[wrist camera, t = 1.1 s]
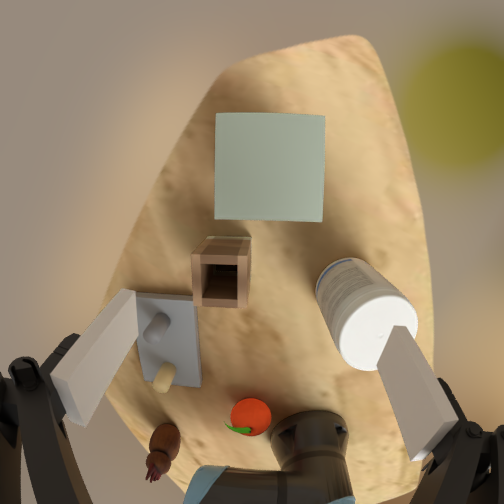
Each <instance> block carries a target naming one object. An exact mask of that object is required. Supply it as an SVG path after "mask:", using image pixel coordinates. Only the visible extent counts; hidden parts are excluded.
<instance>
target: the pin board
mask: <svg viewBox="0 0 504 504" xmlns="http://www.w3.org/2000/svg"><path fill="white" fill-rule="evenodd" d="M135 293H136V309H137V322H138V333H139V335H138V337H137V339H136V341H137V346H138V352H139V357H140V362H141V367H142V372H143V376H144V381H150V382H153V383H152V387H153V389H154V390H155V391H157V392H159V393H166V392H168V390H169V387H170V385H179V386H188V387H197V388H200V387H201V384H202V371H201V359H200V346H199V332H198V317H197V306H193V296H190V295H173V294H158V293H144V292H135Z"/></svg>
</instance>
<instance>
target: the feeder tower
mask: <svg viewBox="0 0 504 504" xmlns="http://www.w3.org/2000/svg"><path fill="white" fill-rule="evenodd" d="M324 168H325V116H320V115H306V114H289V113H216V127H215V219H228V220H273V221H303V222H322V218H323V197H324Z"/></svg>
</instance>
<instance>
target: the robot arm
mask: <svg viewBox="0 0 504 504" xmlns="http://www.w3.org/2000/svg"><path fill="white" fill-rule="evenodd" d="M138 335H139V333H138V322H137V309H136V293H135V291H133V290H128V289H124V288H122V289H121V290H120V291H119V292H118V293H117V294H116V295H115V296H114V297H113V299H112V300H111V301H110V302H109V303H108V304H107V305H106V307H105V308H104V309H103V310H102V311H101V312H100V314H99V315H98V316H97V317H96V318H95V319H94V321H93V322H92V323H91V324H90V325H89V326H88V328H87V329H86V330H85V331H84V333H83V334H82V335H78V334H75V333H73V334H71V335H69V336H68V337H66V338H64V340H63V341H62V342H61V343H60V344H59V346H58V347H57V348H56V349H55V350H54V351H53V353H52V354H51V355H50V356H49V357H48V358H47V359H46V361H45V362H44V363H43V364H42V365H41V367H40V368H39V365H38V363H37V361H36V360H35V359H34V358H31V357H20V358H17V359H15V360H14V361H13V362H12V363H11V364H10V365H9V368H8V372H9V374H10V376H11V379H9V378H3V376H2V374H1V372H0V504H21V484H20V483H21V482H20V481H21V479H20V478H21V477H20V475H21V448H22V444H23V449H24V454H25V459H26V464H27V468H28V472H29V476H30V480H31V484H32V487H33V491H34V494H35V498H36V501H37V504H93V503H92V501H91V498H90V496H89V494H88V491H87V489H86V486H85V484H84V481H83V479H82V476H81V474H80V471H79V468H78V466H77V463H76V460H75V457H74V454H73V451H72V448H71V445H70V442H69V438H68V435H67V432H66V428H65V425H64V422H63V420H62V418H63V417H64V415H65V414H67V416H68V418H69V420H70V421H71V422H73V423H76V424H78V425H81V426H83V427H86V426H87V424H88V422H89V420H90V419H91V417H92V415H93V413H94V411H95V409H96V408H97V406H98V404H99V402H100V400H101V399H102V397H103V395H104V393H105V392H106V390H107V388H108V386H109V384H110V383H111V381H112V379H113V378H114V376H115V374H116V372H117V371H118V369H119V367H120V365H121V364H122V362H123V360H124V359H125V357H126V355H127V354H128V352H129V350H130V349H131V347H132V345H133V344H134V342H135V340H136V339H137V337H138ZM376 366H377V369H378V371H379V374H380V376H381V379H382V381H383V384H384V387H385V389H386V392H387V395H388V397H389V400H390V403H391V405H392V408H393V411H394V414H395V417H396V419H397V422H398V425H399V428H400V431H401V434H402V437H403V440H404V443H405V446H406V449H407V452H408V455H409V458H410V461H417V460H422V459H425V458H426V457H427V456H428V455H429V454H430V453H431V452H432V453H433V455H434V457H433V459H431V460H430V461H429V463H427V464H426V465H425V466H424V467H423V469H422V470H421V471H424V470H425V469H426V468H427V470H426V472H425V474H424V476H423V478H422V480H421V482H420V484H419V486H418V489H417V490H416V492H415V494H414V496H413V498H412V500H411V502H410V504H504V425H500V426H498V428H497V429H496V430H495V431H494V432H485V431H483V429H482V428H481V427H480V426H479V425H478V424H477V423H475V422H472V421H467V419H466V417H465V415H464V413H463V411H462V409H461V407H460V406H459V404H458V402H457V400H455V399H456V398H455V397H454V395H453V394H452V391H451V389H450V388H449V386H448V384H447V383H446V382H445V381H444V380H442V379H441V378H436V376H435V374H434V372H433V371H432V369H431V367H430V365H429V364H428V362H427V360H426V358H425V357H424V355H423V353H422V352H421V350H420V348H419V347H418V345H417V343H416V342H415V340H414V338H413V337H412V335H411V334H410V332H409V330H408V329H407V327H406V326H398V325H394V326H393V328H392V331H391V333H390V335H389V338H388V340H387V342H386V345H385V347H384V349H383V352H382V354H381V356H380V358H379V360H378V362H377V365H376ZM348 438H349V434H348V429H347V425H346V423H345V421H344V420H343V419H342V418H341V417H340V416H338V415H336V414H334V413H331V412H326V411H308V412H302V413H298V414H295V415H293V416H290V417H288V418H286V419H284V420H283V421H281V422H280V423H279V424H278V425H277V426H276V427H275V428H274V430H273V432H272V435H271V447H272V451H273V453H274V455H275V457H276V459H277V461H278V463H279V465H280V468H281V471H270V470H255V469H243V468H234V467H230V466H214V465H204V466H202V467H200V468H199V469H198V470H197V471H196V472H195V474H194V476H193V477H192V480H191V482H190V484H189V487H188V489H187V492H186V495H185V498H184V502H183V504H355V497H354V495H353V490H352V486H351V482H350V478H349V473H348V469H347V465H346V461H345V455H346V449H347V444H348ZM490 467H491V473H489V468H490Z"/></svg>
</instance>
